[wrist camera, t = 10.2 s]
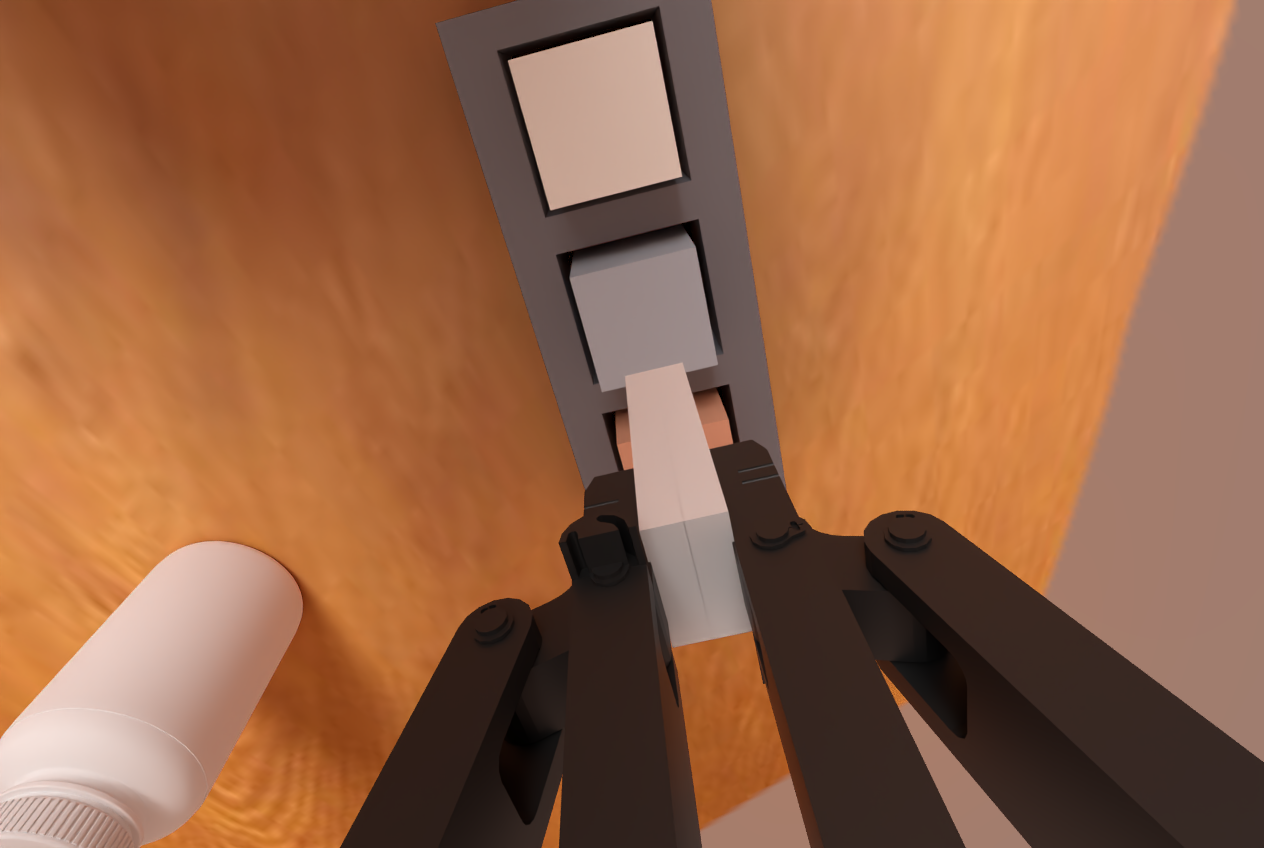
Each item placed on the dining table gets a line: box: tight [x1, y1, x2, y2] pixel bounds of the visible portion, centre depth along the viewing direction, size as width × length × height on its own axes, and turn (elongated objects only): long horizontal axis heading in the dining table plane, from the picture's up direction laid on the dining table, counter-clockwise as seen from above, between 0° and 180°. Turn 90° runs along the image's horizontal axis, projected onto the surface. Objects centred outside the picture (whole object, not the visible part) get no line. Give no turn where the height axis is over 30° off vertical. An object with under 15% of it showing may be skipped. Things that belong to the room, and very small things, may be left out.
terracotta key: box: [615, 387, 733, 470], centre depth 29 cm, size 5×5×4 cm
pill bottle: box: [0, 541, 303, 848], centre depth 30 cm, size 8×8×15 cm
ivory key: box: [508, 21, 682, 210], centre depth 23 cm, size 5×5×4 cm
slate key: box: [570, 224, 718, 392], centre depth 26 cm, size 5×5×4 cm
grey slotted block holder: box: [435, 0, 786, 491], centre depth 28 cm, size 9×22×4 cm, turn 13°
